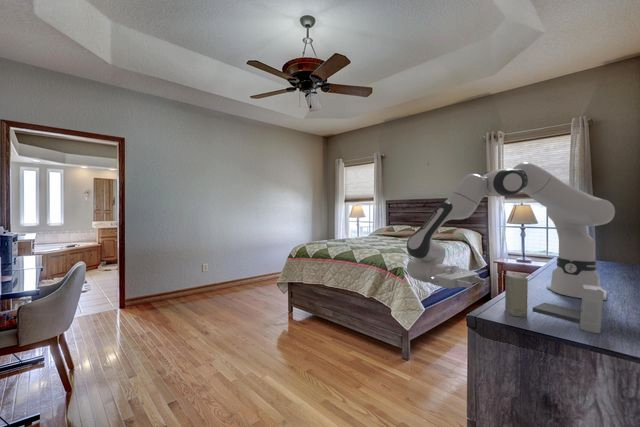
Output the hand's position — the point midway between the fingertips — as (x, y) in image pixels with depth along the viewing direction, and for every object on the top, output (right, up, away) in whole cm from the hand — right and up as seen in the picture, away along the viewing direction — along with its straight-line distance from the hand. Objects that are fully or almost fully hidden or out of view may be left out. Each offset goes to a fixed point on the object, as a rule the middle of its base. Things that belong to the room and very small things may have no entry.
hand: (478, 283), depth 106 cm
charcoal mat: (+22, -8, -9) cm, 25 cm away
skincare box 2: (+21, -8, -22) cm, 31 cm away
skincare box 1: (+7, -7, -10) cm, 14 cm away
